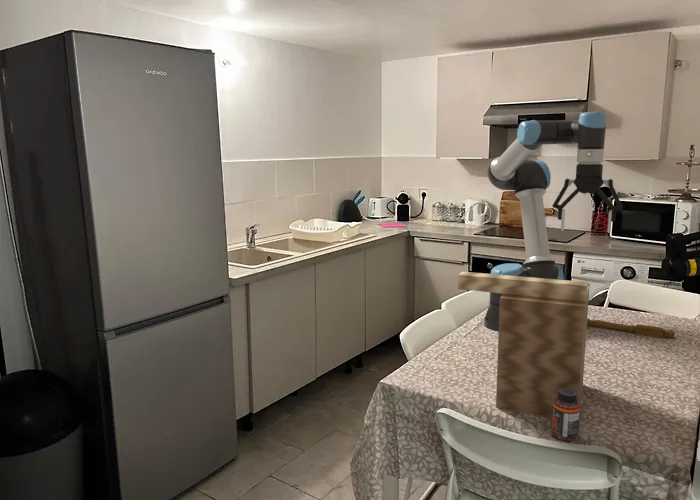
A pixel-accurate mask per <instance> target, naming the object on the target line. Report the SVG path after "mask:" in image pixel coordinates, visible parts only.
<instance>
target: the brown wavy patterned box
mask: <svg viewBox="0 0 700 500" xmlns="http://www.w3.org/2000/svg"><path fill="white" fill-rule="evenodd" d="M590 285H591V284H590V283H589V282H588V287H587V299H586V302H584V301H574V300H564V299H554V298H543V297H533V296H523V295H513V294H502V296H501V297H500V307H499V331H498V341H497V364H496V365H497V367H496V371H497V372H496V395H495V396H496V397H495V408H498V409H502V410H503V409H504V410H508V411H514V412H519V413H524V414H528V415H529V414H530V415H535V416H541V417H547V418H552V419H553V403H554V399H555V398H556V397H557V396H558V392H559V389H561V388H569V389H572V390H574V391H576V393H577V398H576V399H577V400H578V401H579V402H580V403H581V399H582V393H583V385H584V376H585V375H584V373H585V360H586V359H585V357H586V342H587V331H588V330H587V329H588V326H587V319H588V313H589V312H588V311H589V299H590V298H589V297H590Z"/></svg>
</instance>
